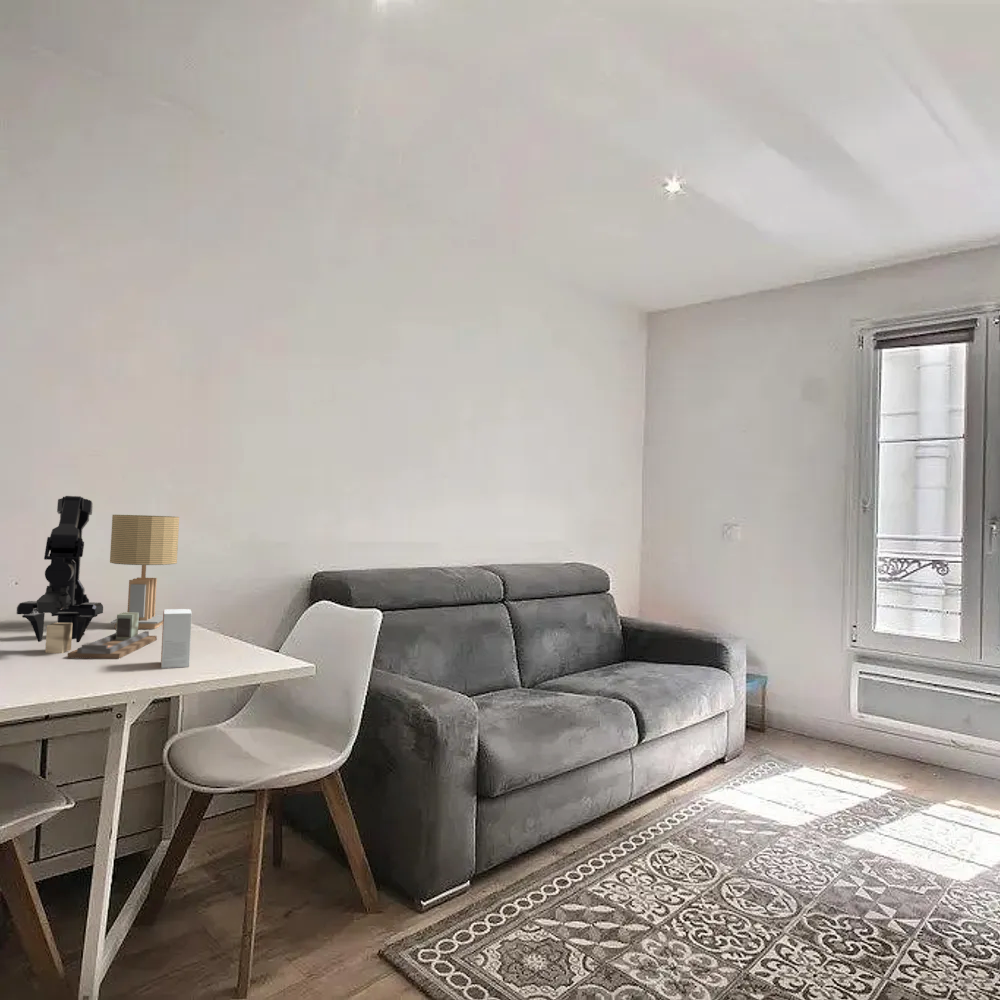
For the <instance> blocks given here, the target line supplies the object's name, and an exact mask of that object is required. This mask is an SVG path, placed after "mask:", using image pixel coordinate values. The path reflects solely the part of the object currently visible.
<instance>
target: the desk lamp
mask: <svg viewBox="0 0 1000 1000" xmlns="http://www.w3.org/2000/svg"><path fill="white" fill-rule="evenodd" d="M111 515H112V516H111V518H112V519H111V535H110V538H111V539H110V553H109V563H110V564H114V565H124V566H125V565H126V566H128V565H129V566H141V574H140V575H141V576H140V577H136V578H132V579H129V580H128V593H127V594H128V598H127V611H126V612H134V613H139V621H138V630H156V629H157V628H158V627H160V626H163V614H156V598H157V582H158V578H157V577H147V576H146V575H147V566H165V565H169V566H170V565H176V564H178V547H179V530H180V529H179V528H180V516H170V515H169V516H168V515H166V516H165V515H143V514H142V515H141V514H139V515H137V514H111ZM110 624H115V625H114V629H115V630H116V625H117V618H115V619H113V620H111V621H110Z"/></svg>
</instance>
